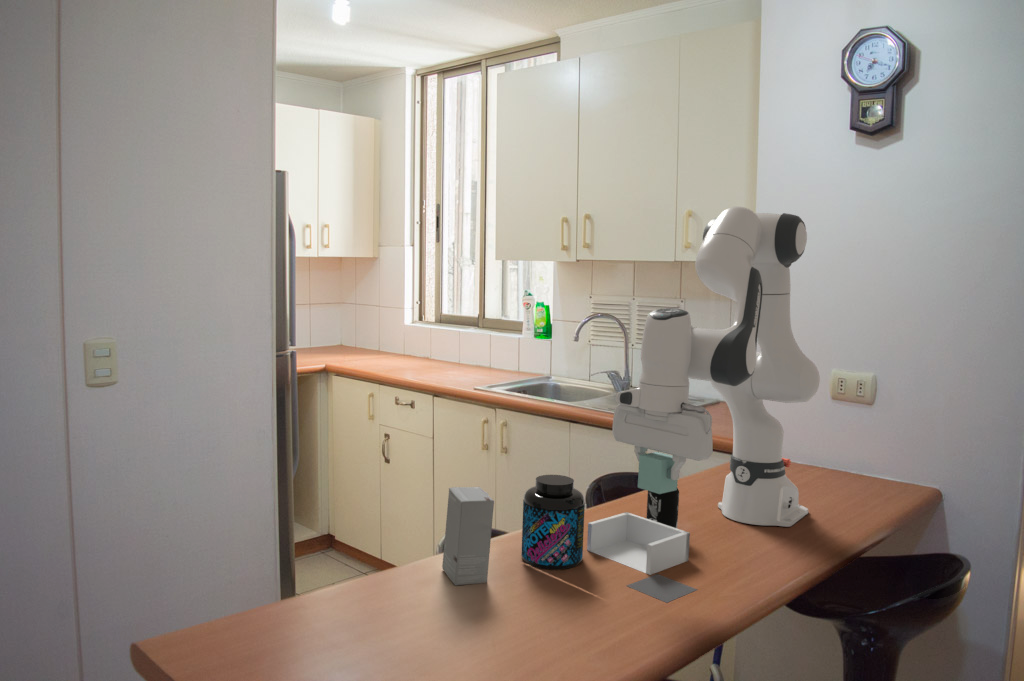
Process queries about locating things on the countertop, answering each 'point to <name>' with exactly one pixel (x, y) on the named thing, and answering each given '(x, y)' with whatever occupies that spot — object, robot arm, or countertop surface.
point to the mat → (662, 588)
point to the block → (656, 473)
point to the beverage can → (663, 507)
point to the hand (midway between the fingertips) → (658, 475)
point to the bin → (638, 542)
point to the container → (553, 523)
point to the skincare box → (468, 535)
